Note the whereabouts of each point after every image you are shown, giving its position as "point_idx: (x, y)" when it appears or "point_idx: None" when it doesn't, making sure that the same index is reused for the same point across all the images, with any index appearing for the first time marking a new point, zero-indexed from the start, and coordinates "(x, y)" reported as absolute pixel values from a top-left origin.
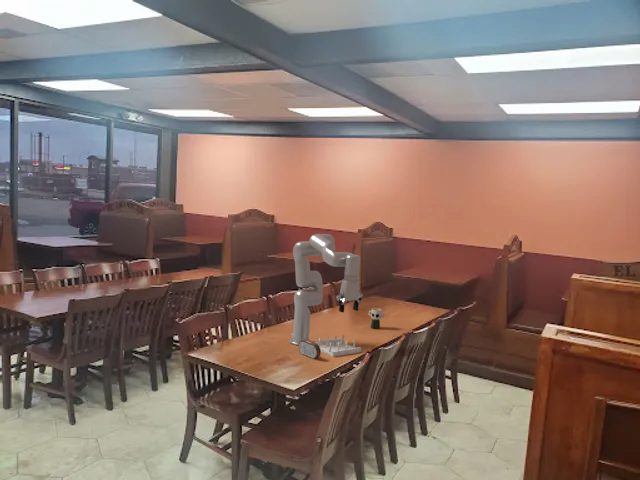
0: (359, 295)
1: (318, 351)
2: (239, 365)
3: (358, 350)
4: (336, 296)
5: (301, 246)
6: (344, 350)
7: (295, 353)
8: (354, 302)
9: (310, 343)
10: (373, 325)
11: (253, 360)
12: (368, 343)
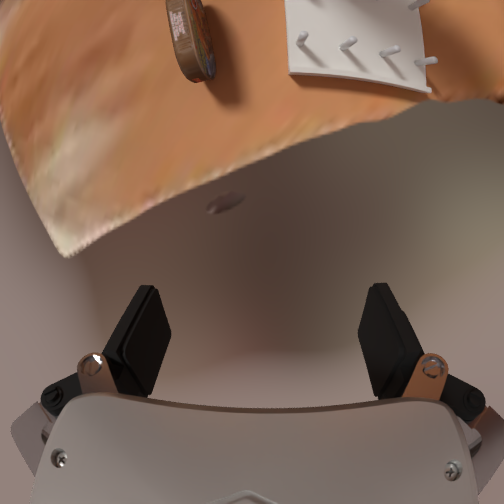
0: (475, 446)
1: (197, 80)
2: (10, 93)
3: (416, 90)
4: (12, 429)
5: None
6: (352, 76)
7: None
8: (402, 361)
9: (173, 40)
10: None
11: (40, 59)
12: (487, 61)
